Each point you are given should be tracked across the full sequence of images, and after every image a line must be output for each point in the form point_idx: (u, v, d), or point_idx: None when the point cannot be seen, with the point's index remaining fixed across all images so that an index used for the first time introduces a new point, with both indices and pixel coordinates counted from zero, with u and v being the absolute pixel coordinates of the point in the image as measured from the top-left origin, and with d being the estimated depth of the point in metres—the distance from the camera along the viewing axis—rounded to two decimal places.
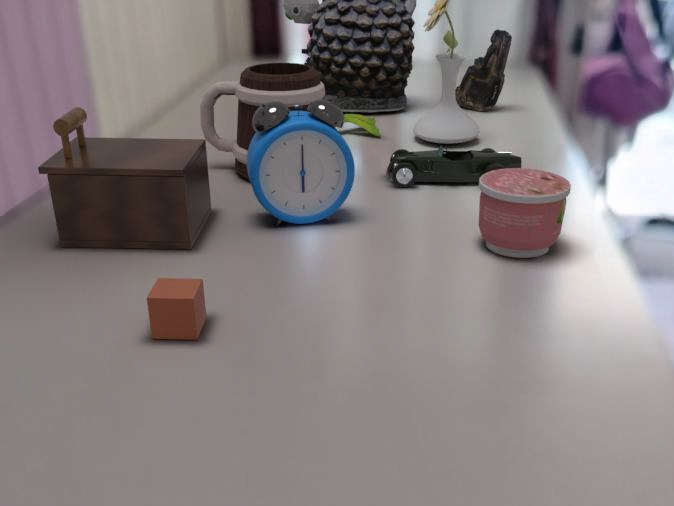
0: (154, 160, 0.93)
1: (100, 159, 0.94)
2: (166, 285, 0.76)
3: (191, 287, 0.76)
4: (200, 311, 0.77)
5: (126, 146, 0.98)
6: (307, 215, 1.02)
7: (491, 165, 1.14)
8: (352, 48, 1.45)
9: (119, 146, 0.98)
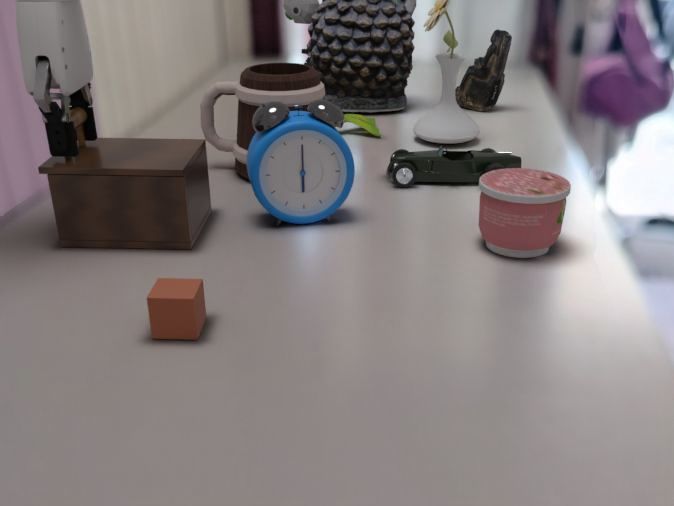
0: (154, 160, 0.93)
1: (100, 159, 0.94)
2: (166, 285, 0.76)
3: (191, 287, 0.76)
4: (200, 311, 0.77)
5: (126, 146, 0.98)
6: (307, 215, 1.02)
7: (491, 165, 1.14)
8: (352, 48, 1.45)
9: (119, 146, 0.98)
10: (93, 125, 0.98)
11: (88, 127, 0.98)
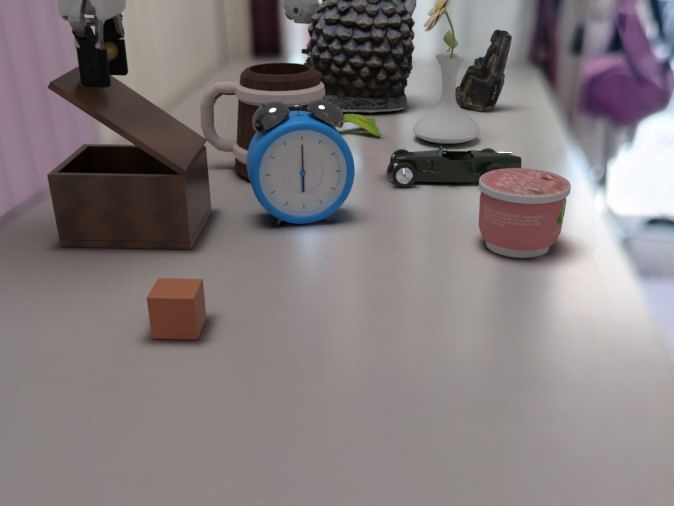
0: (160, 140, 0.92)
1: (110, 107, 0.91)
2: (166, 285, 0.76)
3: (191, 287, 0.76)
4: (200, 311, 0.77)
5: (136, 104, 0.96)
6: (307, 215, 1.02)
7: (491, 165, 1.14)
8: (352, 48, 1.45)
9: (129, 100, 0.95)
10: (124, 58, 0.94)
11: (119, 60, 0.94)
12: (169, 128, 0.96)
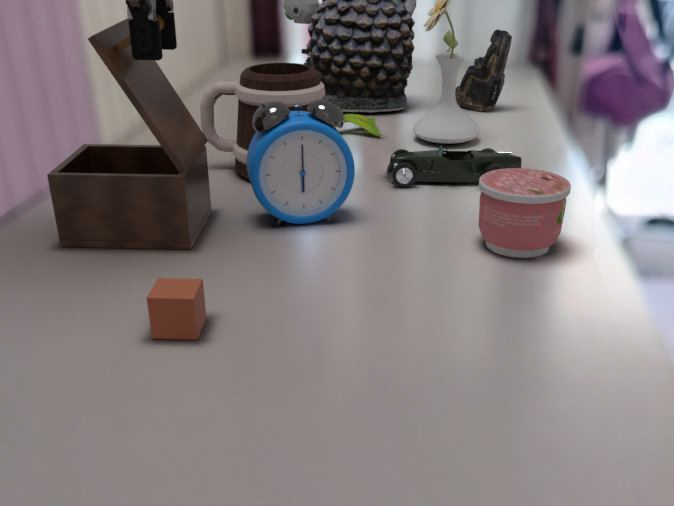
0: (171, 131, 0.91)
1: (137, 81, 0.89)
2: (166, 285, 0.76)
3: (191, 287, 0.76)
4: (200, 311, 0.77)
5: (158, 82, 0.94)
6: (307, 215, 1.02)
7: (491, 165, 1.14)
8: (352, 48, 1.45)
9: (153, 77, 0.94)
10: (174, 32, 0.92)
11: (168, 34, 0.92)
12: (180, 119, 0.96)
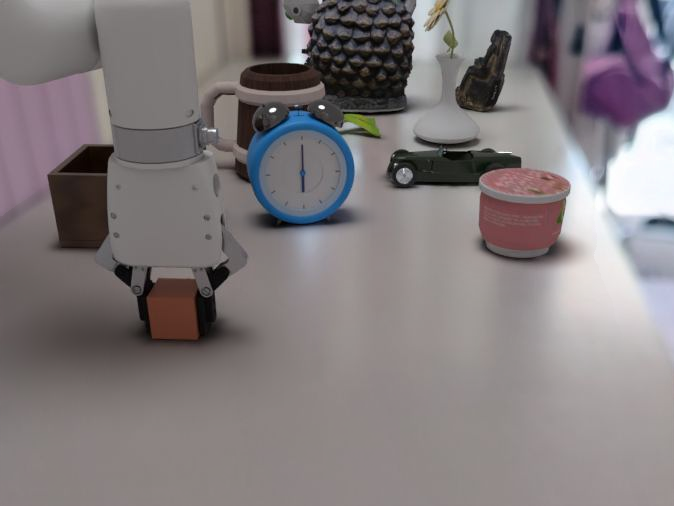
0: None
1: None
2: (166, 285, 0.76)
3: (191, 287, 0.76)
4: None
5: None
6: (307, 215, 1.02)
7: (491, 165, 1.14)
8: (352, 48, 1.45)
9: None
10: (198, 317, 0.76)
11: None
12: None
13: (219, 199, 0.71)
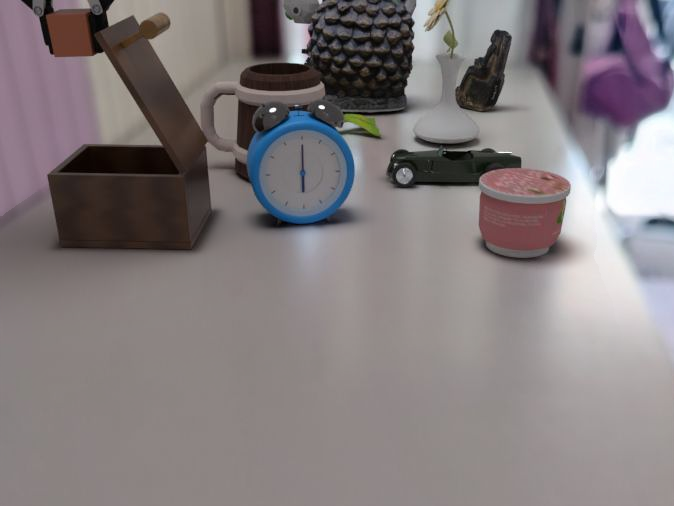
0: (173, 130, 0.91)
1: (141, 78, 0.89)
2: (65, 11, 0.89)
3: (86, 10, 0.89)
4: None
5: (161, 80, 0.94)
6: (307, 215, 1.02)
7: (491, 165, 1.14)
8: (352, 48, 1.45)
9: (156, 75, 0.94)
10: (92, 35, 0.88)
11: None
12: (182, 118, 0.96)
13: None
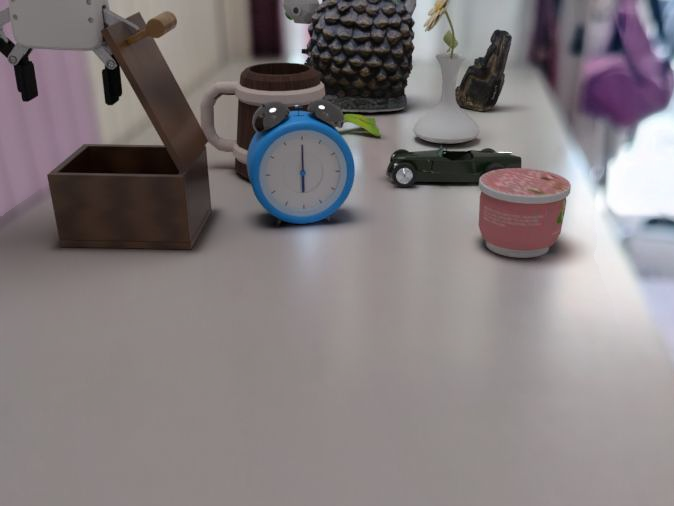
0: (174, 130, 0.91)
1: (145, 77, 0.89)
2: None
3: None
4: None
5: (164, 79, 0.94)
6: (307, 215, 1.02)
7: (491, 165, 1.14)
8: (352, 48, 1.45)
9: (160, 73, 0.93)
10: (105, 88, 0.91)
11: None
12: (184, 117, 0.96)
13: None
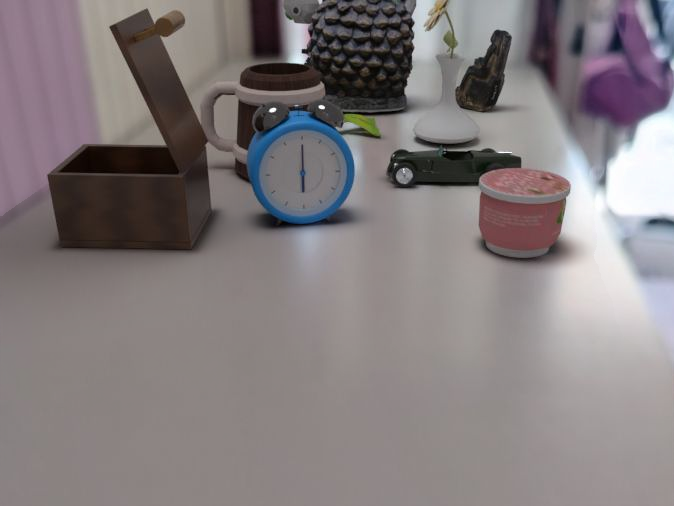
0: (176, 129, 0.91)
1: (151, 74, 0.89)
2: None
3: None
4: None
5: (169, 77, 0.94)
6: (307, 215, 1.02)
7: (491, 165, 1.14)
8: (352, 48, 1.45)
9: (165, 71, 0.93)
10: None
11: None
12: (186, 117, 0.96)
13: None
